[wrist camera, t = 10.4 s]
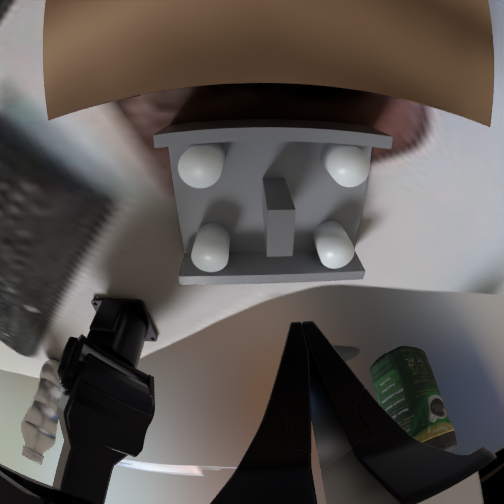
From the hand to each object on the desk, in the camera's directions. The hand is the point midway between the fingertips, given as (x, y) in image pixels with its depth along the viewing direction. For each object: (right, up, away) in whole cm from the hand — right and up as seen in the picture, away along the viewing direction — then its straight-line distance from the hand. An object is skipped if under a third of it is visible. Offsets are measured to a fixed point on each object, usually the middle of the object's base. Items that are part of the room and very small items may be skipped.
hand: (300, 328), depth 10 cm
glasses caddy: (0, +7, +10) cm, 13 cm away
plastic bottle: (-36, -17, +27) cm, 48 cm away
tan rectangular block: (0, +19, +2) cm, 19 cm away
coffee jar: (+20, -13, +25) cm, 35 cm away
